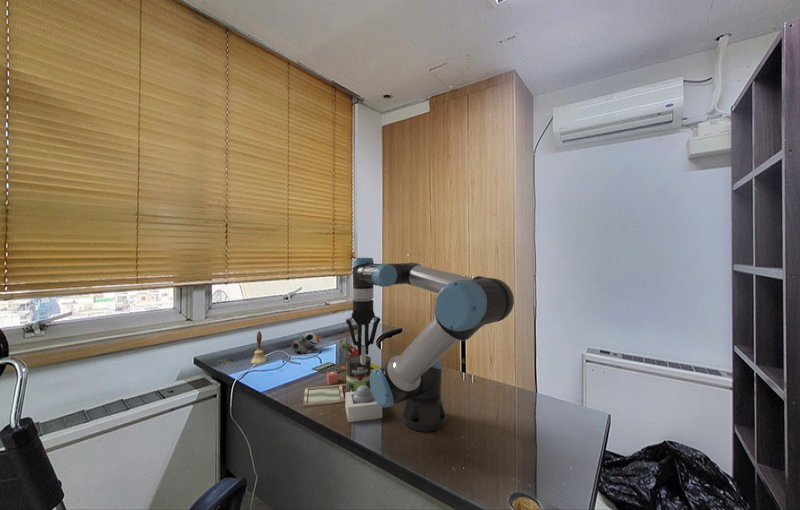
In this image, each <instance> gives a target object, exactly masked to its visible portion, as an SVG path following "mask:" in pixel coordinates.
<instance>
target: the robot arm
mask: <svg viewBox="0 0 800 510" xmlns="http://www.w3.org/2000/svg"><path fill="white" fill-rule="evenodd" d="M404 284H405V285H410V286H413V287H416V288H419V289H422V290H426V291H429V292H432V293H435V294H436V298H435V302H436V304H435V305H434V310H433V311H434V312H433V314H434V318H432V319H431V320H430V322H429V323H428V324H427V325H426V326H425V327H424V328H423V329H422V331H421V332H420V333H419V334H418V335H417V336H416V338H415V339H414V340H413V341H412V342H411V344H409V345H408V346H407V348H406V349H404V351H403V352H402V354H401V355H398V354H397V355H395V356H393V357H391V359H389V360H388V362H387V363H386V364H385V365H384V366H381V368H377V369H375V370H373V371H372V373H371V375H370V390H371V391H372V394H373V396H374V399H375V400H376V402H377V403H378V404H379V405H380V406H382V408H389V407H393V406H394V405H397V404H399V403H402V402H405V405H404V408H403V411H402V422H403V424H404V425H405V426H406V427H407V428H409V429H411V430H413V431H418V432H426V433H429V432H434V431H438V430H440V429H442V428H443V427H444V426H445V425H446V424H447V423H446V422H447V414H446V410H445V408H444V404H443V401H442V361H441V358H442V357H443V356H444V355H445V354H446V353H447V352H448V351H449V350H450V349H452V347H453V346H454V345H455V344H456V343H457V342H458V341H463V342H464V341H468V340H469V339H470V338H472V336H473V335H474V334H475V333H477V332H478V331H479V330H480V329H481V328H482V327H484V326H486V325H489V324H493V323H499V322H501V321H502V320H505V319H506V318H508V316H509V315H510V314H511V312H512V310H513V308H514V304H515V298H514V293H513V291H512V289H511V287H510V286H509V285H508V284H507V283H506V282H505V281H503V280H501V279H500V278H499V279H498V278H494V277H486V276H483V275H477V276H474V277H470V276H466V275H460V274H457V273H452V272H447V271H444V270H440V269H435V268H431V267H425V266H422V265H421V264H420V263H418V262H405V263H404V262H403V263H397V262H396V263H395V262H394V263H374V258H373V257H355V258H354V259H353V261H352V299H353V301H352V313H351V316H349V317H347V318H345V322H346V324H347V325H348V328H349V332H350V337H351V341H352V345H353V346H356V347H357V346H358V347H357V350H358V355H361V365H365V364H366V356H368V355H369V346H370V345H373V344H374V342H375V339H376V338H375V337H376V334H377V330H378V329H377V328H378V324H379V323H380V322H381V318H380V316H377V315H376V314H375V311H374V300H373V299H374V286H378V287H381V288H383V287H386V288H387V287H392V286H395V285H404ZM353 321H354V322H355V323H356V325H357V340H356V335H355V331H354V328H353ZM372 321H373V324H372V329H371V332H369V331H370V330H369V328H370V323H371V322H372ZM363 326H364V344H362V343H363V342H362V340H363V339H362V337H363V335H362V331H363V329H362V327H363ZM369 333H370V334H369ZM369 336H370V337H369Z"/></svg>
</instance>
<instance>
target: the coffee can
mask: <svg viewBox="0 0 800 510" xmlns="http://www.w3.org/2000/svg"><path fill="white" fill-rule="evenodd" d="M347 357H348V356H347ZM347 357H346V359H345V360H346V367H347V370H346V383H345V384H346V387H345V388H346V389H345V391H346V392H355V391H356V390H357V388H358V387H359V386H362V385H365V386H367V387H369V389H370V390H371V387H370V375H371V364H372V363H371V362H372V357H370V356H368V355H366V364H365V365H361V355H354V356H350V357H348V358H347ZM346 392H345V393H346Z"/></svg>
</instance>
